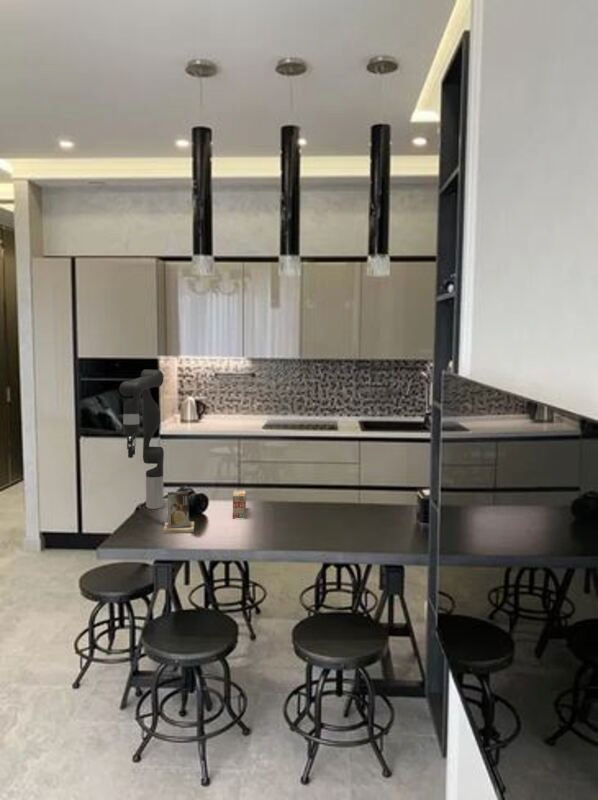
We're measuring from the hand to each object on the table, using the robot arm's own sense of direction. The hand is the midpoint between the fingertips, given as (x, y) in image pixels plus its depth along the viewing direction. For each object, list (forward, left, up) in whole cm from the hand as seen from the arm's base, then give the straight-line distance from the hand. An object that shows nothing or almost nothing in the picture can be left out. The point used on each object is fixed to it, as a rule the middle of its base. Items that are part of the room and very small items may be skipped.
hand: (131, 456), depth 298 cm
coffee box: (+9, +23, -33) cm, 41 cm away
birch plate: (+9, +23, -34) cm, 42 cm away
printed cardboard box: (-16, +53, -34) cm, 66 cm away
